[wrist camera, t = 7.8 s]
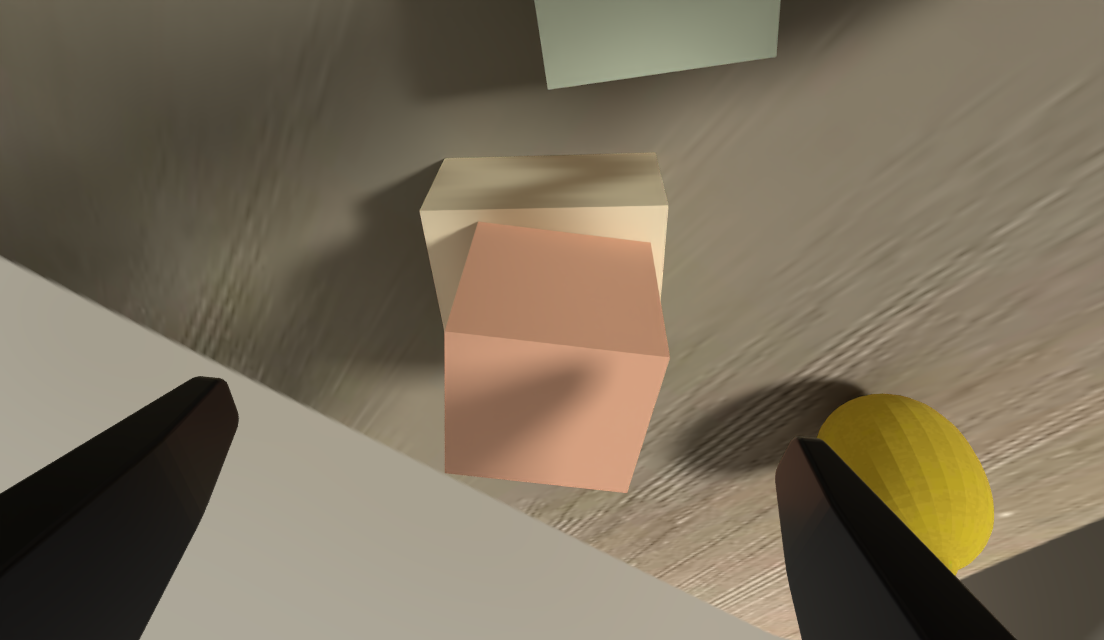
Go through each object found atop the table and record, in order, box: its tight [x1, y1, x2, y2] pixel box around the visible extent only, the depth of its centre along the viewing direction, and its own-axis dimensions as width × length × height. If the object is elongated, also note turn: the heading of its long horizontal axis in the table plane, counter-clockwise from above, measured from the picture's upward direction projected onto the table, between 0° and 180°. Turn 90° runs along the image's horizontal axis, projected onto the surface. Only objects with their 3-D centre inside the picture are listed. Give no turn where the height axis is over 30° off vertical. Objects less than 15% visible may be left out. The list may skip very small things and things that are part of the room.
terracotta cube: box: [445, 222, 670, 493], centre depth 16 cm, size 5×5×5 cm
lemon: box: [817, 394, 994, 576], centre depth 22 cm, size 6×6×8 cm
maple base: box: [420, 153, 668, 332], centre depth 20 cm, size 7×7×4 cm
